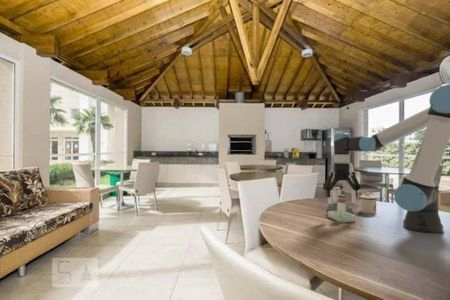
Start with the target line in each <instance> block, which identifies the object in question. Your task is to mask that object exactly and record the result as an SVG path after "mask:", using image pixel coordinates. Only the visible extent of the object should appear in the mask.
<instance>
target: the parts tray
mask: <svg viewBox="0 0 450 300" xmlns="http://www.w3.org/2000/svg"><path fill="white" fill-rule="evenodd" d="M327 218H329V219H332V220H334V221H336V222H338V223H355V222H356V221H357V215H356V214H354V215H353V214H350V213H347V212H346V216H339V215H337V211H329V210H327Z"/></svg>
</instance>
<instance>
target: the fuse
mask: <svg viewBox="0 0 450 300" xmlns="http://www.w3.org/2000/svg"><path fill="white" fill-rule="evenodd" d="M337 195H341V187H339V186H334V187H333V188H332V203H333V205H338V202H337V198H338V197H337Z"/></svg>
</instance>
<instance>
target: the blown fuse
mask: <svg viewBox="0 0 450 300" xmlns="http://www.w3.org/2000/svg"><path fill="white" fill-rule="evenodd" d="M337 197H338V198H337V202H338V205H337V215H339V216H346V206H347V205H346V204H347V202H346V201H347V196H346V195H345V194H340V195H337Z"/></svg>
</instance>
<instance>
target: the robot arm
mask: <svg viewBox="0 0 450 300" xmlns="http://www.w3.org/2000/svg"><path fill="white" fill-rule="evenodd" d="M429 105H430V106H429V107H427V108H425V109H422V111H419V112H417V113H414V114H413V115H411V116H409V117H407V118H404V119H403V120H401V121H399V122H397V123H395V124H393V125H391V126H389V127H387V128H385V129H383V130H381V131H379V132H377V133H375V134H373V135H371V136H370V135H361V136H350V133H347V132H345V133H344V132H343V133H342V132H341V133H340V132H338V133H335V134H334V135H333V162H334V164H333V170H334V171H329V172H328V176H327V177H326V181H325V182H324V185H323V187H322V189H323V190H325V191H326V198H327V204H328V205H329V204H332V203H333V187H335V185H336V184H337V183H338V182H339V181H340V182H342V181H345V182H346V183H347V184H348V185H349V186H350V188H351V189H350V190H351V191H350V193H351V197H350V198H351V203H354V204H356V203H357V197H358V191H359V190H360V189H361V185H360V182H359V181H358V179H357V176H356V172H355V171H350V168H351V167H350V161H351V159H350V152H364V153H365V152H373V153H374V152H378V151H380V150H381V149H382V148H384V147H386V146H388V145H390V144H393V143H395V142H397V141H399V140H401V139H403V138H405V137H407V136H410V135H413V134H414V133H417V132H419V131H422V130H423V129H425V132H424V134H423V137H422V140H421V142H420V145H419V147H418V150H417V152H416V155H415V158H414V160H413V163H412V166H411V168H410V171H409V173H407V174H405V175H404V176H403V177H402V180H401V183H400V185H399V186H397V188H396V189H395V191H394V194H393V195H394V196H393V197H394V201H395V203H396V205H397V206H398V207H399V208H401V209H403V210H405V211H406V214H405V217H404V219H403V220H402V221H403V223H402V225H403V227H404V228H406V229H408V230H412V231H415V232H421V233H428V234H429V233H430V234H440V233H443V232H444V225H443V223H442V220H441V217H440V214H439V189H440V186H439V181H438V180H435V176H436V174H437V171H438V170H439V166H440V164H441V163H442V160H443V157H444V155H445V152H446V150H447V146H448V145H449V142H450V83H445V84H442V85H440V86H438V87H437V88H435V89H434V90H433V91H432V93H430V96H429Z"/></svg>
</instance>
